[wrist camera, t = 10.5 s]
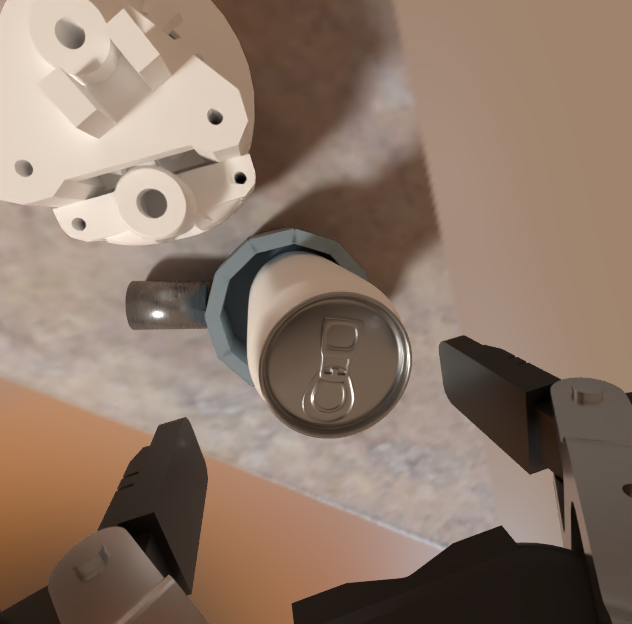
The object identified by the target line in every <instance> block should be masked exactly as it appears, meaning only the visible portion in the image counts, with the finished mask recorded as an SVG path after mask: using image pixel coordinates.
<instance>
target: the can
mask: <svg viewBox="0 0 632 624" xmlns="http://www.w3.org/2000/svg"><path fill="white" fill-rule="evenodd" d="M247 360H248V367H249V371H250V375H251V378H252V381H253V383H254V385H255V387H256V389H257V391H258V393H259V394H260V396H261V397H262V398H263V399H264V401H265V402H266V403H267V405H268V407H269V408H270V410H271V411H272V412H273V414H274V415H275V416H276V417H277V418H278V419H279V420H280V421H281V422H282V423H284V424H285V425H286V426H288V427H289V428H291V429H293V430H295V431H297V432H299V433H301V434H304V435H307V436H311V437H316V438H341V437H346V436H350V435H354V434H357V433H359V432H362V431H364V430H366V429H368V428H370V427H372V426H373V425H375V424H376V423H378V422H379V421H380V420H382V419H383V418H384V417H385V416H386V415H387V414H388V413H389V412H390V411H391V410H392V409H393V408H394V407H395V405H396V404H397V403H398V401H399V400H400V398H401V396H402V395H403V393H404V391H405V389H406V386H407V384H408V381H409V377H410V373H411V367H412V351H411V345H410V341H409V337H408V335H407V332H406V330H405V328H404V326H403V324H402V322H401V319H400V317H399V315H398V312H397V311H396V309H395V307H394V306H393V304H392V303H391V302H390V300H389V299H388V298H387V297H386V296H385V295H384V294H383V293H382V292H381V291H380V290H379V289H378V288H376V287H375V286H374V285H372V284H371V283H369V282H367V281H366V280H364V279H362V278H361V277H359V276H357V275H355V274H354V273H352V272H350V271H348V270H346V269H344V268H343V267H341V266H339V265H337V264H335V263H333V262H331V261H329V260H327V259H326V258H324V257H322V256H319V255H317V254H314V253H311V252H306V251H291V252H286V253H283V254H280V255H278V256H276V257H274V258H272V259H271V260H269V261H268V262H267V263H266V264H264V265H263V266H262V268H261V269H260V270H259V271H258V273H257V274H256V276H255V278H254V280H253V282H252V285H251V289H250V294H249V305H248V326H247Z"/></svg>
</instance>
